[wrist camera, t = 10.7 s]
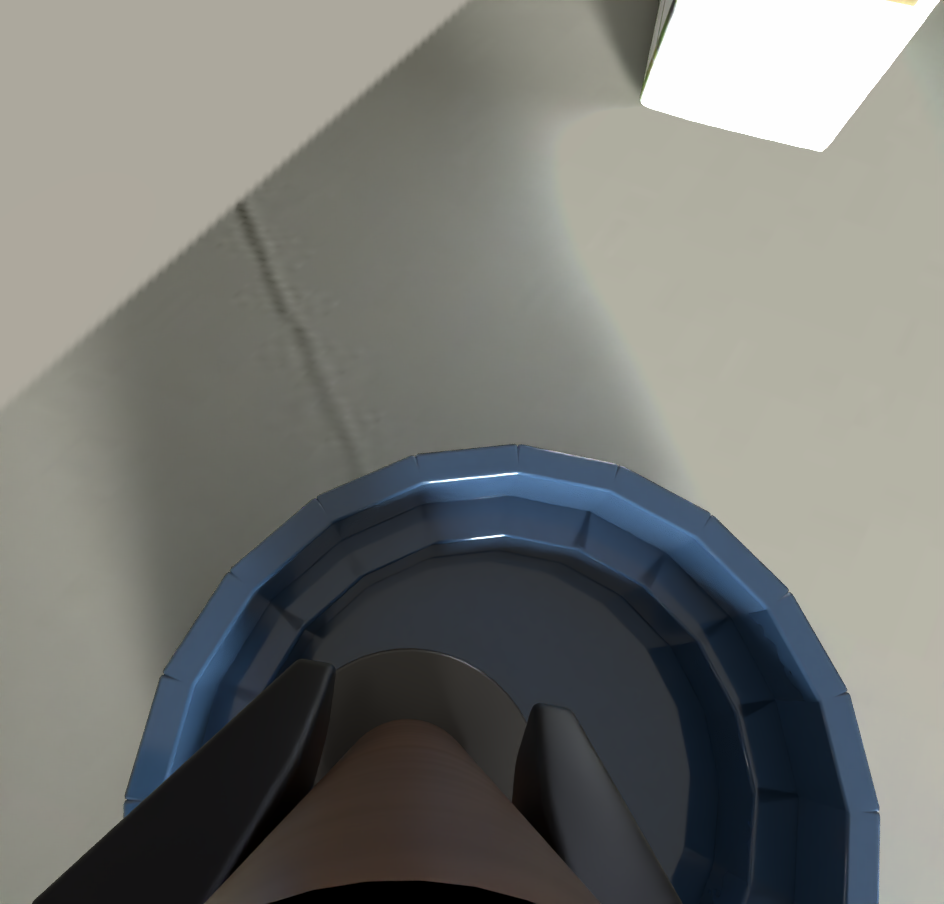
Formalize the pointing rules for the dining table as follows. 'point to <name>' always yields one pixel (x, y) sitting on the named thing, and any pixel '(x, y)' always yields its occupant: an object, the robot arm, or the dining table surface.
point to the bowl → (566, 653)
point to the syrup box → (775, 62)
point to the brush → (410, 799)
